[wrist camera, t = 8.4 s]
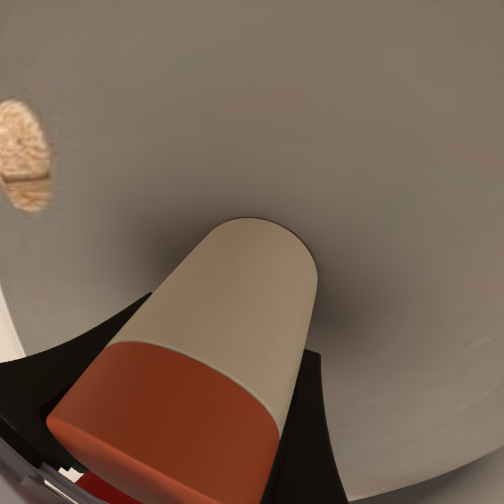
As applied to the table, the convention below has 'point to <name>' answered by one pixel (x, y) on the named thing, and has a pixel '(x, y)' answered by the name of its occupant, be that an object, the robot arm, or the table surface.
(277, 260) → the container
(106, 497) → the plastic cup
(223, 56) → the table surface
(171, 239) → the table surface
